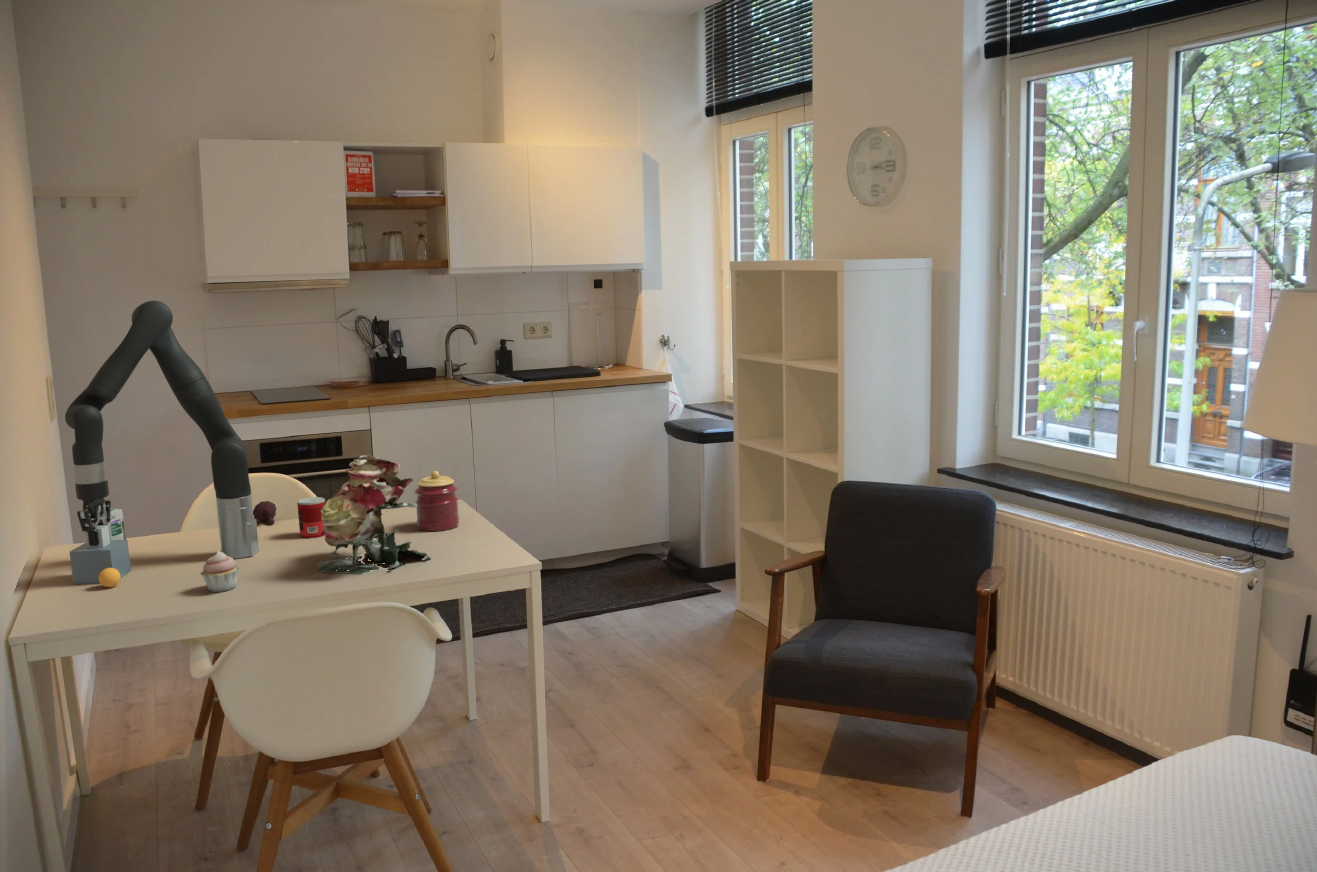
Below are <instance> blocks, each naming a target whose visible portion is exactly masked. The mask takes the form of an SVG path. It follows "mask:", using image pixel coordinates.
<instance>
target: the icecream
mask: <svg viewBox="0 0 1317 872" xmlns="http://www.w3.org/2000/svg"><path fill="white" fill-rule="evenodd" d="M276 511H277V507H276V504H275V503H273V502H271V501H269V500H265V501H260V502H259V503H258V504H255V506H254V509H253V519H256V521H259V522H262V523H269V525H271V526H273V525H275V523H276V522H275V519H274V518H275V517H276V515H277V512H276Z"/></svg>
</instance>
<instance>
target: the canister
mask: <svg viewBox="0 0 1317 872" xmlns="http://www.w3.org/2000/svg"><path fill="white" fill-rule="evenodd" d="M454 483H455V479H452V477H450V476H447V475H440V473H439V471H438V470H433V471H432V472H431V474H430V476H426V477H423V478H421V480H418V482H417V483H416V484H417V488H416V489H415V490H414V493H415V494H416V500H415V505H417V507H415V508H416V525H417V528H418V529H419V530H421V531H426V532H441V531H447V530H452V529H455V528H458V527H459V525H460V516H459V515H460V514H459V503H458V502H459V501H458V500H459V498H458V496H457V491H458V486H456V485H454ZM436 508H437V509H436Z"/></svg>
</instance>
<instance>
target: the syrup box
mask: <svg viewBox="0 0 1317 872" xmlns="http://www.w3.org/2000/svg"><path fill="white" fill-rule="evenodd" d="M106 518H107V517H106ZM91 520H93V519H91ZM93 526H94V523H93ZM108 528H109V537H110V540H127V537H126V529H125V523H124V515H123V509H122V508H114V507H113V508H112V507H111V514H110V522H108Z"/></svg>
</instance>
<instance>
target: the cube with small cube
mask: <svg viewBox="0 0 1317 872" xmlns="http://www.w3.org/2000/svg"><path fill="white" fill-rule="evenodd" d="M97 531H98V538H99V545H97V546H90V545H89V539H88V532H86V531H85V538H86V542H85V543H83V544H80V545H79V546H77V547H76V548H74V549H72V550H70V551H69V558H70V565H71V566H70V567H71V575H72V584H73V585H82V584H83V585H86V584H88V585H89V584H100V582H99V574H100V572H101V571H102V570H104V569H106V568H114V569H116V570H118V571H119V573H120V576H121V578H122V576H123V575H124V576H126V575H127V574H129V573H131V571H132V567H131V560H130V559H131V558H130V551H129V543H128V539H126V540H110V537H109V528H108V525H98V527H97ZM128 572H129V573H128ZM125 574H126V575H125ZM124 576H123V577H124Z"/></svg>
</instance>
